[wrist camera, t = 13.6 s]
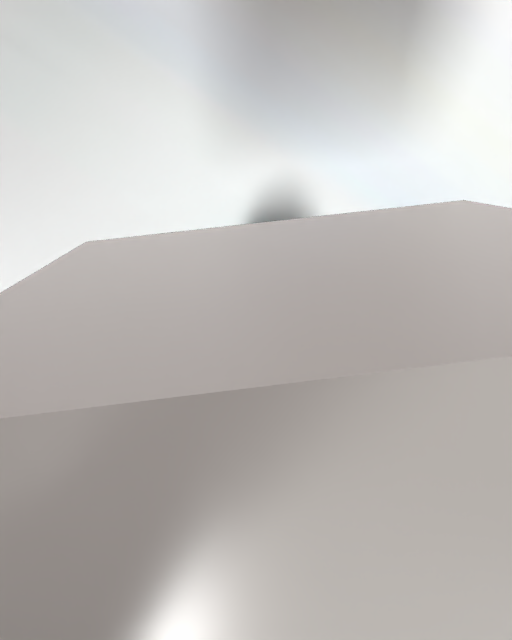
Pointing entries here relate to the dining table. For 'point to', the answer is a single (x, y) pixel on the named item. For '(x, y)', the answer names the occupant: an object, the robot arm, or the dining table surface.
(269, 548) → the white box
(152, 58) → the dining table surface
